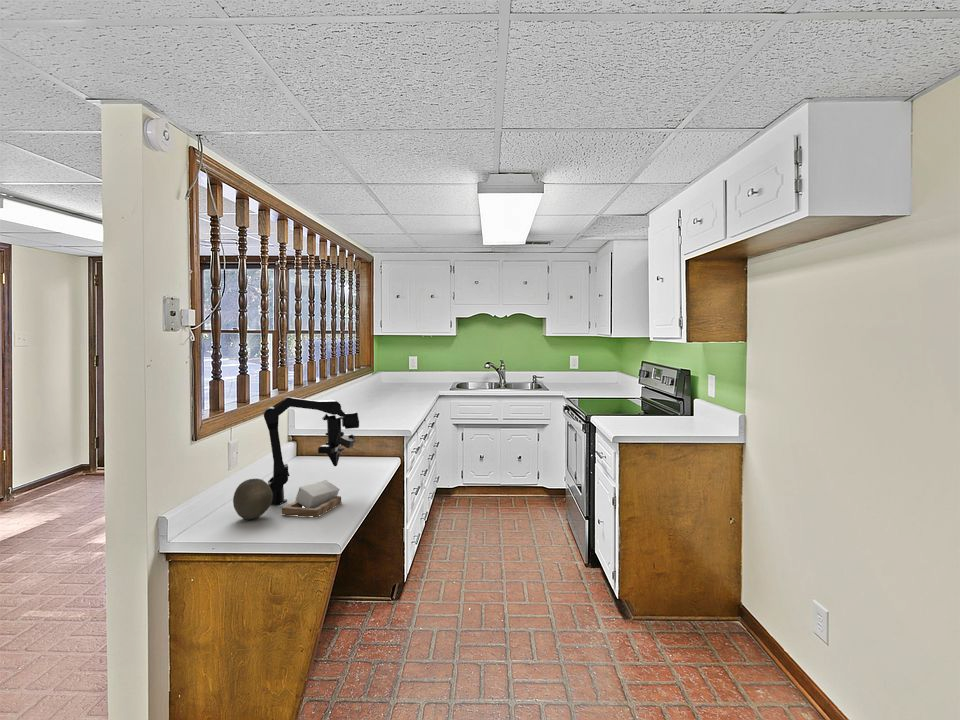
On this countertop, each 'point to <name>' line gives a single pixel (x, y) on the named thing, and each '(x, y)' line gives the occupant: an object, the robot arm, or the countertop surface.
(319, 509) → the wooden tray
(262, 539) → the countertop surface
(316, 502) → the skincare box
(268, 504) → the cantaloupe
